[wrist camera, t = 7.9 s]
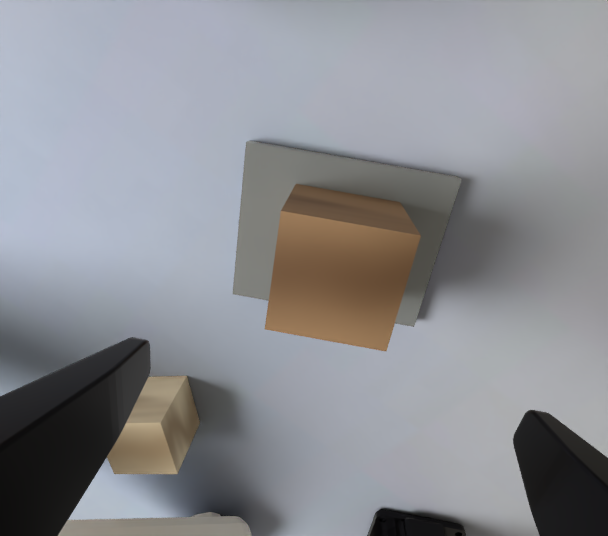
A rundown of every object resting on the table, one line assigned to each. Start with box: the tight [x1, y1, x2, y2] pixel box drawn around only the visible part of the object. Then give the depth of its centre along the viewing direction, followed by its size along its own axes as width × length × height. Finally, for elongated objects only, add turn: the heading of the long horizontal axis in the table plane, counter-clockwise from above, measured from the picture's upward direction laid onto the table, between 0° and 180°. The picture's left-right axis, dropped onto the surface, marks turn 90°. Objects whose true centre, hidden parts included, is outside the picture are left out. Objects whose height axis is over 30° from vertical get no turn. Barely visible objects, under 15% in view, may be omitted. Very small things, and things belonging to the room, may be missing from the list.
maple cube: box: [107, 376, 200, 474], centre depth 23 cm, size 4×4×4 cm
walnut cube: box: [265, 184, 421, 351], centre depth 17 cm, size 5×5×5 cm
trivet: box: [233, 141, 462, 327], centre depth 19 cm, size 8×10×1 cm
